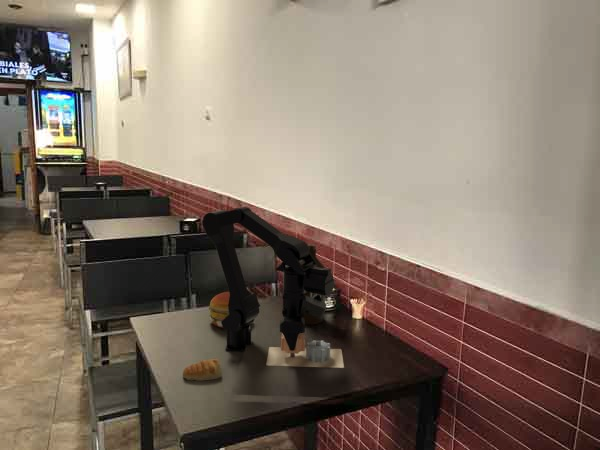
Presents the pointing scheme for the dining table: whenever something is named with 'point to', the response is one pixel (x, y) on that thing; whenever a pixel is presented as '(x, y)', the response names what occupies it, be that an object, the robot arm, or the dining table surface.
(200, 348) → the dining table surface
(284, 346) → the gear
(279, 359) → the gear board
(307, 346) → the gear
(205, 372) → the pastry
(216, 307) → the burger
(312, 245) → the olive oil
